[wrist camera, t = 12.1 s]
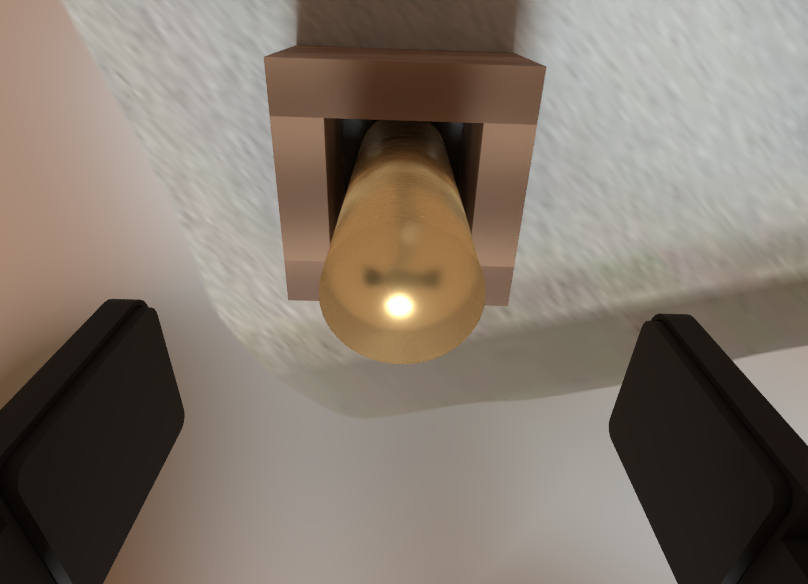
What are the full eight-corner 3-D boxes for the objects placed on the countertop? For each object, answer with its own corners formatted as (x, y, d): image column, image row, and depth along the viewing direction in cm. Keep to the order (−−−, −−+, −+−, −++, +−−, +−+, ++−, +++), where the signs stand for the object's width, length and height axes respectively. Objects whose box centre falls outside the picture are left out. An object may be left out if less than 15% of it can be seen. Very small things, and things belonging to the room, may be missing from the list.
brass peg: (359, 111, 24) (313, 217, 12) (449, 114, 24) (495, 222, 12) (360, 197, 26) (323, 361, 14) (442, 200, 26) (476, 365, 14)
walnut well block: (296, 45, 22) (264, 57, 17) (513, 53, 23) (546, 66, 17) (310, 244, 28) (288, 299, 22) (488, 249, 28) (507, 305, 22)
